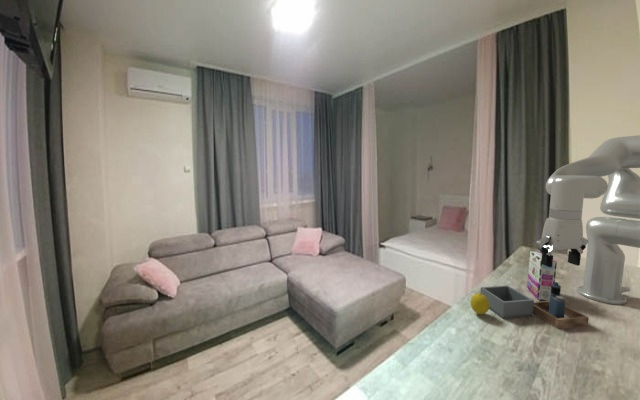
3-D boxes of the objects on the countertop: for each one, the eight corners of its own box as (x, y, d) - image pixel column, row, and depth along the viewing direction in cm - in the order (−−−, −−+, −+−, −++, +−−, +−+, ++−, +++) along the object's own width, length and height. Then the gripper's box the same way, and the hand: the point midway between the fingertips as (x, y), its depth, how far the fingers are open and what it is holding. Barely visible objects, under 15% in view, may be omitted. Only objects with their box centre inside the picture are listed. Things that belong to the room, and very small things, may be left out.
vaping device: (555, 313, 85) (558, 281, 84) (565, 322, 80) (568, 288, 79) (546, 312, 86) (549, 280, 85) (555, 321, 81) (558, 287, 80)
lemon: (491, 319, 84) (492, 298, 83) (473, 318, 85) (474, 297, 84) (484, 310, 89) (485, 290, 88) (467, 309, 90) (468, 289, 89)
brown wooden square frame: (554, 307, 89) (554, 300, 89) (587, 326, 78) (588, 317, 78) (527, 309, 88) (527, 302, 88) (557, 328, 78) (558, 320, 77)
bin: (506, 299, 95) (507, 285, 95) (532, 316, 84) (533, 300, 84) (479, 301, 95) (480, 287, 94) (502, 318, 84) (503, 302, 83)
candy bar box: (554, 302, 92) (557, 261, 90) (537, 300, 94) (540, 260, 92) (541, 289, 102) (544, 251, 100) (526, 287, 104) (529, 250, 102)
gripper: (576, 211, 83) (571, 259, 85) (529, 213, 82) (525, 262, 84) (603, 215, 76) (597, 267, 78) (551, 218, 74) (547, 270, 77)
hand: (560, 264), depth 81 cm, fingers open, 9 cm apart
